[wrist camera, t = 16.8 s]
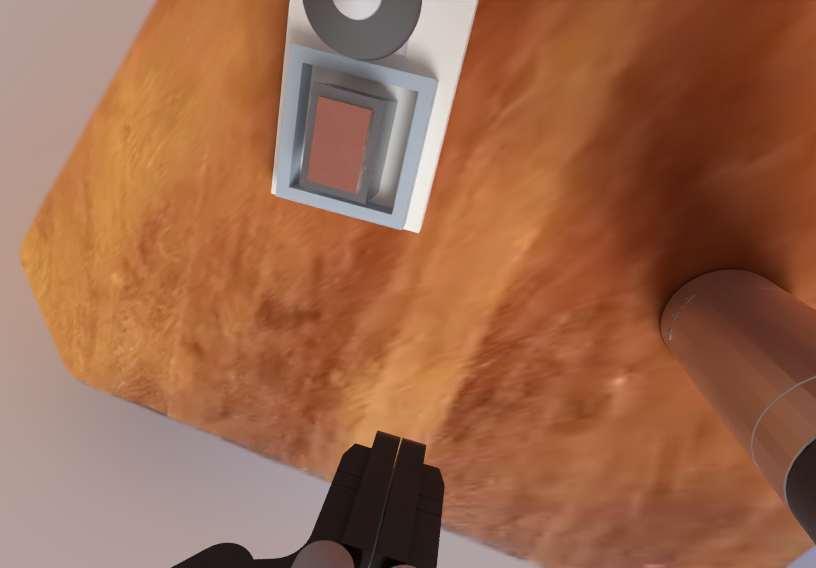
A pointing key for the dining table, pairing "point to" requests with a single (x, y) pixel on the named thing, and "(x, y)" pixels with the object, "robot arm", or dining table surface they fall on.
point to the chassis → (389, 78)
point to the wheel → (363, 25)
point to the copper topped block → (346, 142)
